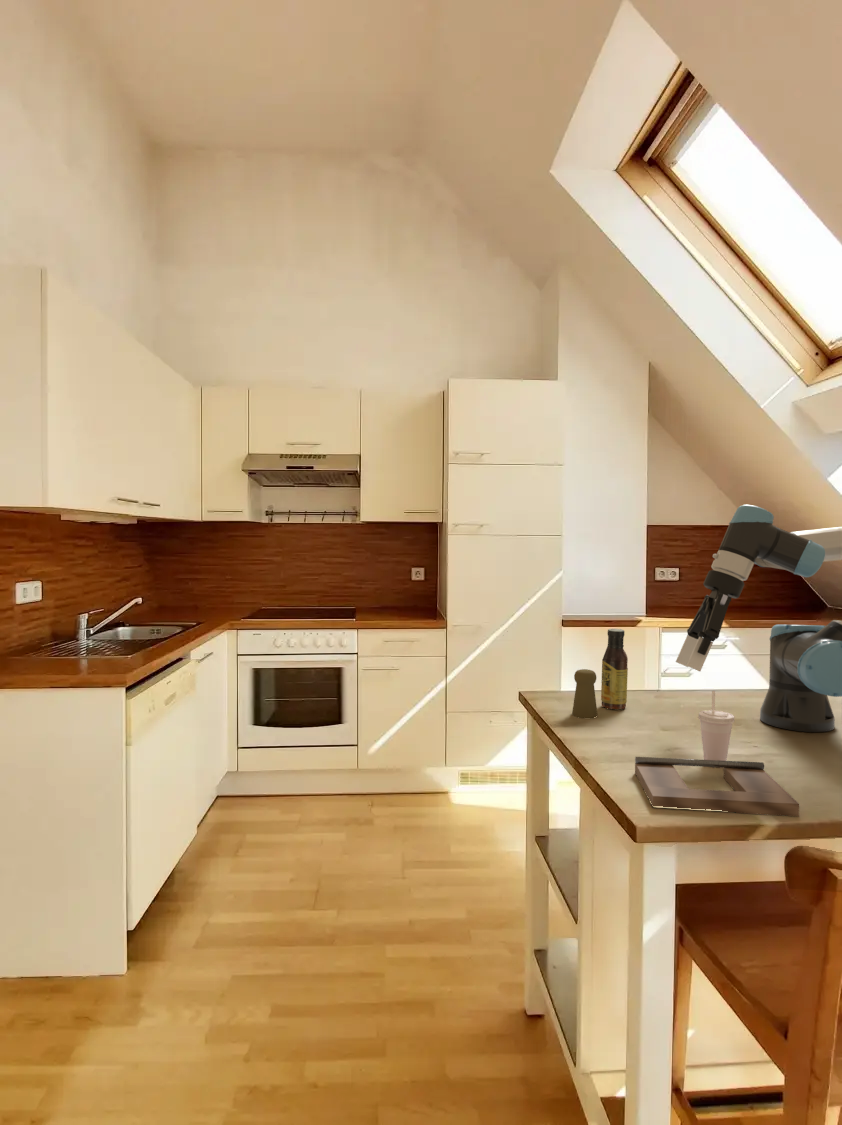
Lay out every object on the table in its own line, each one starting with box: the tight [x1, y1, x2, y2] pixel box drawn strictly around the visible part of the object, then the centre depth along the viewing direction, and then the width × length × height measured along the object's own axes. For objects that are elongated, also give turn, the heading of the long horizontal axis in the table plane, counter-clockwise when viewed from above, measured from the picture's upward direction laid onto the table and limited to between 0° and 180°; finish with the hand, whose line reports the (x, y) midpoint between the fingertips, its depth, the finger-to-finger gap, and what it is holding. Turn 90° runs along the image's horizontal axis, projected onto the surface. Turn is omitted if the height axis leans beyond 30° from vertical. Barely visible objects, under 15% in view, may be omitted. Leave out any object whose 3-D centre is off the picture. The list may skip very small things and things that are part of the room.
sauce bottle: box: [600, 628, 629, 710], centre depth 170 cm, size 7×6×20 cm
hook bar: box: [634, 756, 765, 771], centre depth 122 cm, size 22×1×1 cm, turn 82°
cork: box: [571, 668, 598, 719], centre depth 164 cm, size 6×6×11 cm
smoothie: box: [697, 690, 735, 769], centre depth 129 cm, size 6×6×14 cm
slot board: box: [634, 762, 800, 817], centre depth 115 cm, size 22×16×2 cm
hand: (687, 666), depth 145 cm, fingers open, 13 cm apart
